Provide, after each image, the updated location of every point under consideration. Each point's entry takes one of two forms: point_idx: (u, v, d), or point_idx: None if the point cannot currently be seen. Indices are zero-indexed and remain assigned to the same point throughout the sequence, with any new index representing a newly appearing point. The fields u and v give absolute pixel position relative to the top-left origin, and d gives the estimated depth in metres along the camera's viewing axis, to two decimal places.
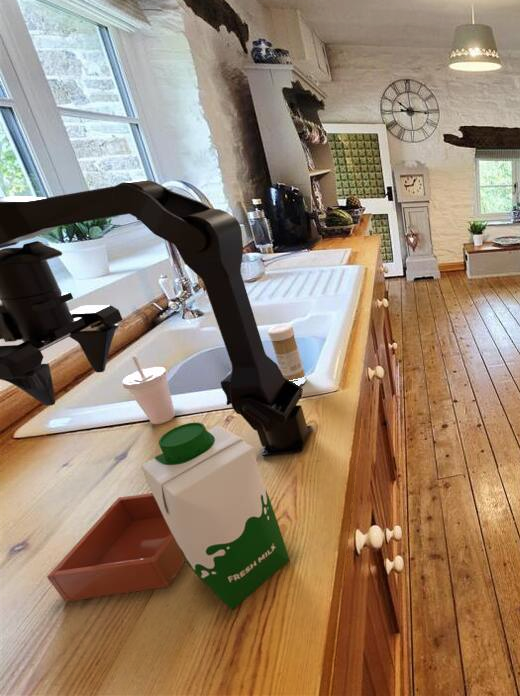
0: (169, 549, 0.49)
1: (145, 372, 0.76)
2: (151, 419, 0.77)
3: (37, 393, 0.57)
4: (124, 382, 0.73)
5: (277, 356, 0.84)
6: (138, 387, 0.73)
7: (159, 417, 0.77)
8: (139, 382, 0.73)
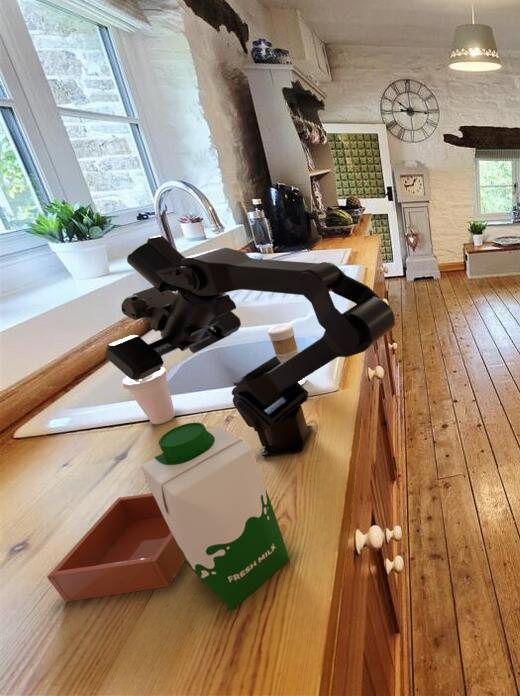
0: (169, 549, 0.49)
1: None
2: (151, 419, 0.77)
3: None
4: (124, 382, 0.73)
5: (277, 356, 0.84)
6: (138, 387, 0.73)
7: (159, 417, 0.77)
8: (139, 382, 0.73)
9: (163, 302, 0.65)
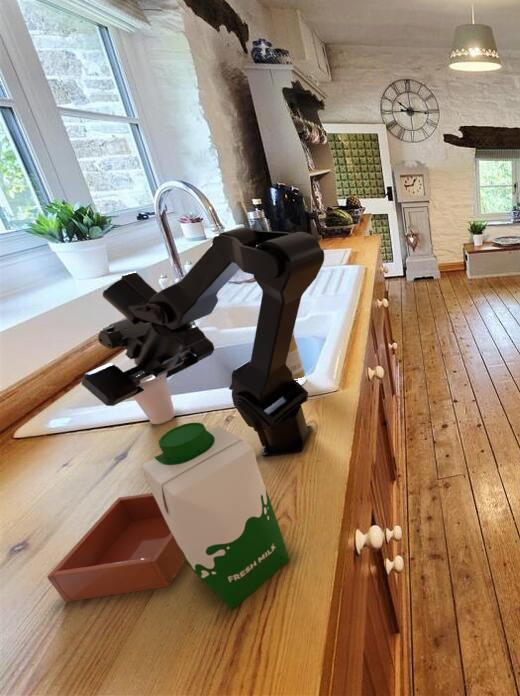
0: (169, 549, 0.49)
1: None
2: (151, 419, 0.77)
3: None
4: None
5: None
6: None
7: (159, 417, 0.77)
8: None
9: (138, 332, 0.70)
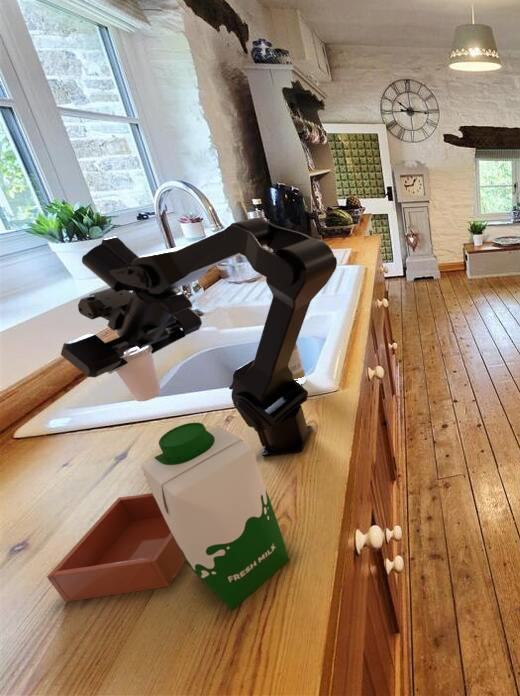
0: (169, 549, 0.49)
1: None
2: (136, 396, 0.74)
3: None
4: None
5: None
6: None
7: (144, 394, 0.74)
8: None
9: (120, 302, 0.67)
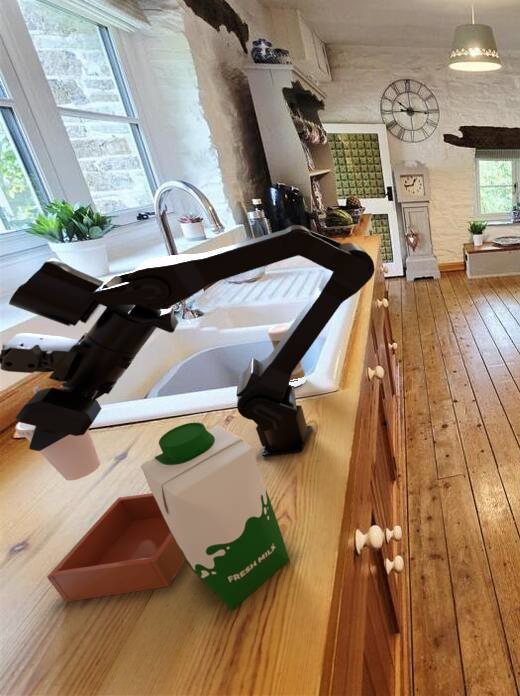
0: (169, 549, 0.49)
1: None
2: (75, 472, 0.56)
3: (45, 437, 0.52)
4: (29, 429, 0.52)
5: None
6: None
7: (88, 464, 0.57)
8: None
9: (56, 345, 0.52)
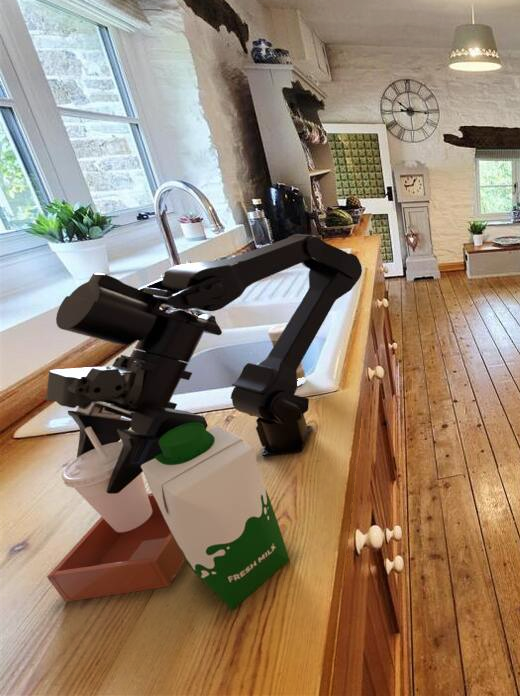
0: (169, 549, 0.49)
1: (89, 460, 0.47)
2: (141, 515, 0.50)
3: (130, 471, 0.46)
4: (101, 472, 0.45)
5: None
6: None
7: (149, 504, 0.51)
8: None
9: None
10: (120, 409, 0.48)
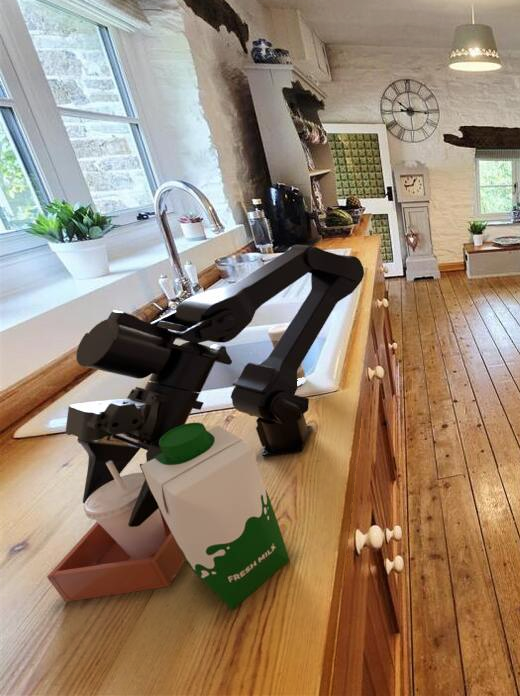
0: (169, 549, 0.49)
1: (109, 492, 0.49)
2: (157, 543, 0.52)
3: (151, 504, 0.48)
4: (121, 504, 0.47)
5: None
6: None
7: (164, 532, 0.53)
8: None
9: None
10: (128, 438, 0.50)
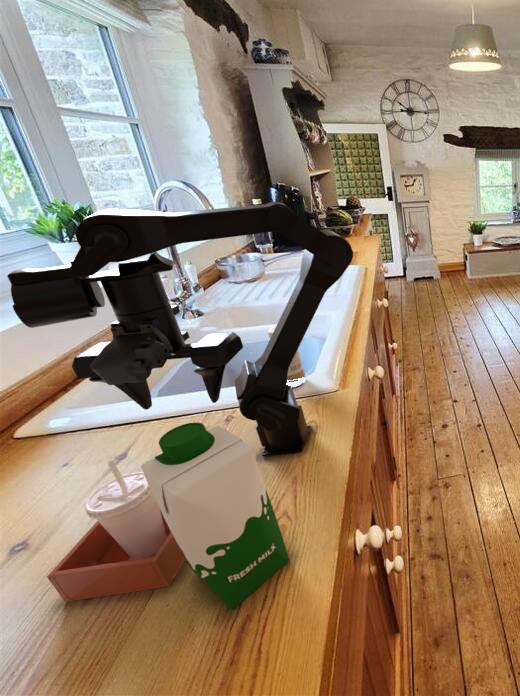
0: (169, 549, 0.49)
1: (110, 491, 0.49)
2: (157, 543, 0.52)
3: (217, 385, 0.60)
4: (122, 504, 0.47)
5: None
6: (149, 491, 0.50)
7: (164, 532, 0.53)
8: (145, 485, 0.50)
9: (131, 342, 0.52)
10: None
